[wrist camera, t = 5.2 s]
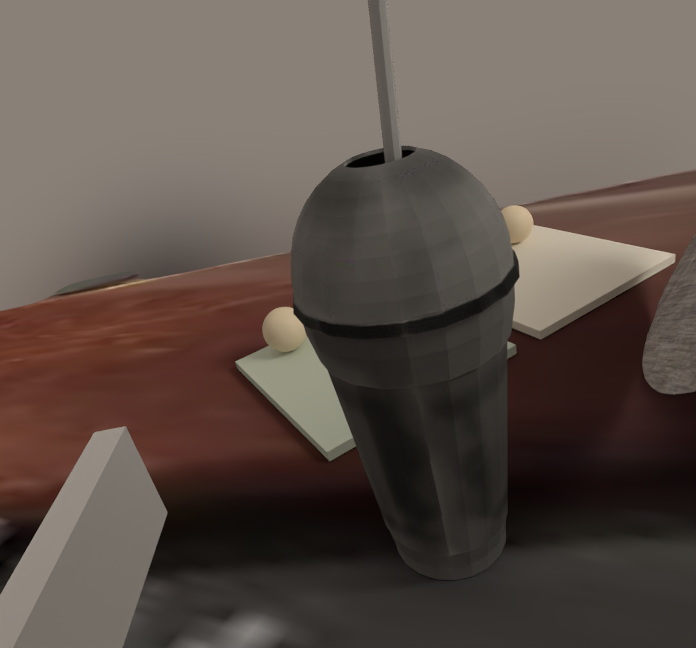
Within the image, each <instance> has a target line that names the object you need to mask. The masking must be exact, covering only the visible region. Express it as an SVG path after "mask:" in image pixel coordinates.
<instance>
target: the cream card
mask: <svg viewBox="0 0 696 648" xmlns="http://www.w3.org/2000/svg"><path fill="white" fill-rule="evenodd" d="M501 212H502V214H503V216H504V219H505V222H506V225H507V228H508V231H509V234H510V240H511V246H512V249H513V250H514V251H515V253H516V256H517V258H518V261H519V274H520V277H519V279H518V280H517V282H516V283H515V285H514V288H515V306H514V314H513V322H512V328H513V329H516V330H518V331H521V332H523V333H526V334H528V335H530V336H533V337H535V338H538V339H540V340H541V339H543V338H545V337H546V336H548V335H550V334H551V333H553V332H555V331H557V330H558V329H560V328H562V327H564V326H565V325H567V324H569V323H571V322H572V321H574V320H576V319H578V318H579V317H581V316H583V315H584V314H586V313H588V312H590V311H591V310H593V309H595V308H597V307H598V306H600V305H602V304H604V303H605V302H607V301H609V300H610V299H612V298H614V297H616V296H617V295H619V294H621V293H623V292H624V291H626V290H628V289H630V288H631V287H633V286H635V285H636V284H638V283H640V282H642V281H643V280H645V279H647V278H649V277H650V276H652V275H654V274H656V273H657V272H659V271H661V270H662V269H664V268H666V267H668V266H669V265H671V264H673V263H675V254H671V253H667V252H662V251H657V250H652V249H647V248H642V247H638V246H633V245H628V244H623V243H618V242H613V241H608V240H604V239H599V238H594V237H589V236H584V235H579V234H574V233H570V232H565V231H560V230H555V229H550V228H545V227H541V226H536V225H533V219H532V216H531V214H530V213H529V211H528V210H526V209H525V208H523V207H521V206H509V207H506V208H504V209H503V210H501Z"/></svg>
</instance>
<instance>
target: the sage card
mask: <svg viewBox="0 0 696 648" xmlns="http://www.w3.org/2000/svg"><path fill="white" fill-rule="evenodd" d="M262 331H263V336H264V339H265V341H266V342H267V344H268V345H269V346H268V347H265V348H263V349H261V350H259V351H257V352H255V353H252V354H250V355H248V356H246V357H244V358H242V359H240V360H237V361H235V363H236V365H237V368H238V370H239V371H240V372H241V373H242V374H243V375H244V376H245V377H246V378H247V379H248V380H249V381H250V382H251V383H252V384H253V385H254V386H255V387H256V388H257V389H258V390H259V391H260V392H261V393H262V394H263V395H264V396H265V397H266V398H267V399H268V400H269V401H270V402H271V403H272V404H273V405H274V406H275V407H276V408H277V409H278V410H279V411H280V412H281V413H282V414H283V415H284V416H285V417H286V418H287V419H288V420H289V421H290V422H291V423H292V424H293V425H294V426H295V427H296V428H297V429H298V430H299V431H300V432H301V433H302V434H303V435H304V436H305V437H306V438H307V439H308V440H309V441H310V442H311V443H312V444H313V445H314V446H315V447H316V448H317V449H318V450H319V451H320V452H321V453H322V454H323V455H324V456H325V457H326V458H327V459H328V460H329V461H331V460H333V459H335V458H336V457H338V456H340V455H342V454H343V453H345V452H347V451H349V450H350V449H352V448H354V447H355V446H356V444H355V442H354V439H353V436H352V434H351V431H350V429H349V426H348V423H347V421H346V418H345V415H344V413H343V410H342V407H341V405H340V402H339V399H338V397H337V394H336V391H335V389H334V386H333V384H332V381H331V378H330V376H329V373H328V370H327V369H326V368H325V366H324V365H323V364H322V363H321V362H320V360H319V358H318V356H317V354H316V352H315V350H314V348H313V346H312V345H311V343H310V341H309V339H308V337H307V335H306V332H305V329H304V326H303V324H302V323H301V322H300V321H299V319H298V318H297V317H296V316H295V315H294V314H293V308H290V307H280V308H277V309H275V310H273V311H271V312H270V313H269V314H268V315H267V317H266V318H265V320H264V323H263V328H262ZM515 354H517V352H516V345H515V344H513V343H510V342H508V341H507V359H508V358H510V357H512V356H513V355H515Z"/></svg>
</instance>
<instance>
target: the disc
mask: <svg viewBox="0 0 696 648" xmlns="http://www.w3.org/2000/svg"><path fill="white" fill-rule="evenodd" d="M642 366H643V373H644V377H645V379H646V381H647V382H648V384H649V385H650V386H651V387H652V388H653V389H655V390H656V391H658V392H660V393H665V394H673V395H675V394H681V393H683V394H684V393H689V392H695V391H696V233H695V235H694V237H693V238H692V240H691V242H690V244H689V245H688V247H687V249H686V251H685V252H684V254H683V256H682V258H681V259H680V262H679V264H678V265H677V268H676V269H675V271H674V272H673V273H672V276H671V278H670V280H669V282H668V284H667V286H666V288H665V290H664V292H663V295H662V297H661V298H660V301H659V303H658V306H657V310H656V314H655V317H654V320H653V322H652V324H651V327H650V330H649V332H648V334H647V338H646V343H645V347H644V352H643V361H642Z"/></svg>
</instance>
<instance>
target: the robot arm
mask: <svg viewBox="0 0 696 648" xmlns="http://www.w3.org/2000/svg"><path fill="white" fill-rule="evenodd" d="M167 513H168V512H167V510H166V508H165V506H164V504H163V502H162V500H161V498H160V496H159V494H158V492H157V490H156V488H155V486H154V484H153V481H152V479H151V477H150V475H149V473H148V471H147V469H146V467H145V465H144V463H143V461H142V459H141V457H140V455H139V453H138V451H137V448H136V446H135V444H134V442H133V440H132V438H131V436H130V434H129V432H128V430H127V428H126V426H124V427H119V428H114V429H109V430H104V431H99V432H94V434H93V435H92V437H91V439H90V441H89V442H88V444H87V446H86V448H85V449H84V451H83V453H82V454H81V456H80V458H79V460H78V461H77V463H76V465H75V467H74V468H73V470H72V472H71V473H70V475H69V477H68V479H67V480H66V482H65V484H64V486H63V487H62V489H61V491H60V492H59V494H58V496H57V498H56V499H55V501H54V503H53V505H52V506H51V508H50V510H49V511H48V513H47V515H46V517H45V518H44V520H43V522H42V524H41V525H40V527H39V529H38V530H37V532H36V534H35V536H34V537H33V539H32V541H31V543H30V544H29V546H28V548H27V549H26V551H25V553H24V555H23V556H22V558H21V560H20V562H19V563H18V565H17V567H16V568H15V570H14V572H13V574H12V575H11V577H10V579H9V581H8V582H7V584H5V585H0V648H123V645H124V642H125V639H126V636H127V633H128V630H129V627H130V624H131V621H132V618H133V615H134V612H135V609H136V606H137V603H138V600H139V597H140V594H141V591H142V588H143V585H144V582H145V579H146V576H147V573H148V570H149V567H150V564H151V561H152V558H153V555H154V552H155V549H156V546H157V543H158V540H159V537H160V534H161V531H162V528H163V525H164V522H165V519H166V516H167Z"/></svg>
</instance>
